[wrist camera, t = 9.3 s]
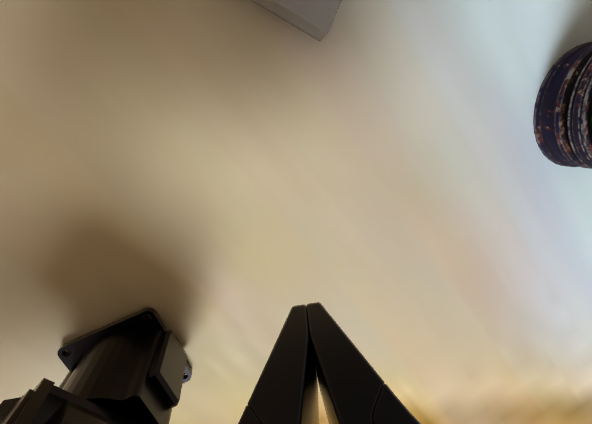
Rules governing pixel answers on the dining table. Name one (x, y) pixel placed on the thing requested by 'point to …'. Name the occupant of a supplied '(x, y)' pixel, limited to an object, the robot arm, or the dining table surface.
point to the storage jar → (566, 110)
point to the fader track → (305, 14)
